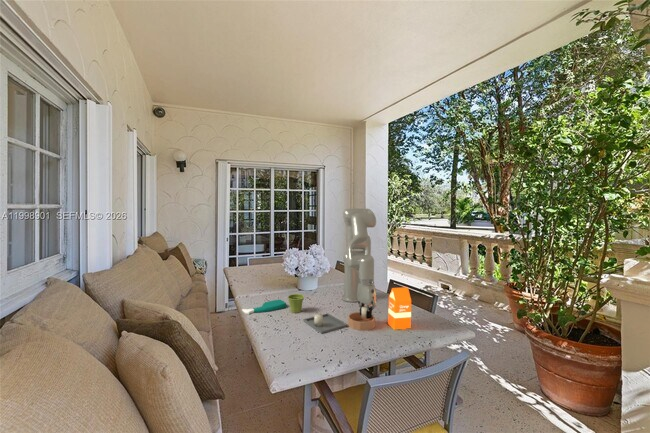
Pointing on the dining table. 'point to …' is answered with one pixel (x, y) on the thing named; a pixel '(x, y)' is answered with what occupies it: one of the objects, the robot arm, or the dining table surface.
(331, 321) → the parts tray
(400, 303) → the orange juice
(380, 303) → the dining table surface
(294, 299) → the plant pot
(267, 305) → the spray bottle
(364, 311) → the pebble
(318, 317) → the pebble
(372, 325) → the bowl
